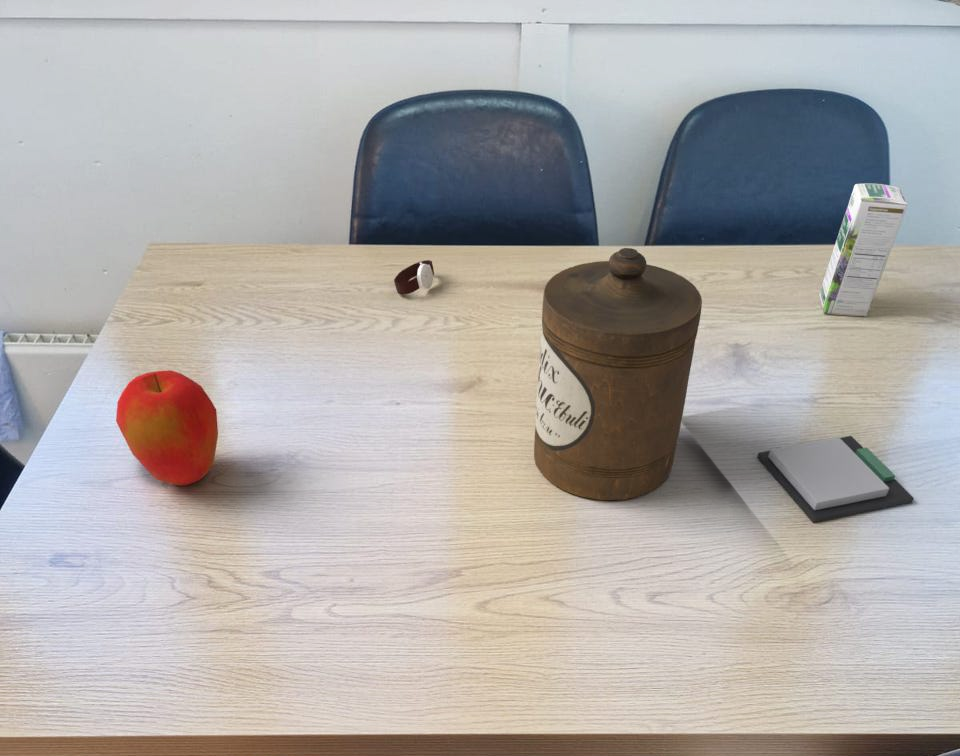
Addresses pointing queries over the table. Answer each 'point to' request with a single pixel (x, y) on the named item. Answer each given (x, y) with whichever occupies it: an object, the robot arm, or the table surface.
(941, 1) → the robot arm
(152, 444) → the apple
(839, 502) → the scale
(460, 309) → the table surface
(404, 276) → the watch
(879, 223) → the syrup box
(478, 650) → the table surface
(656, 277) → the wooden container
